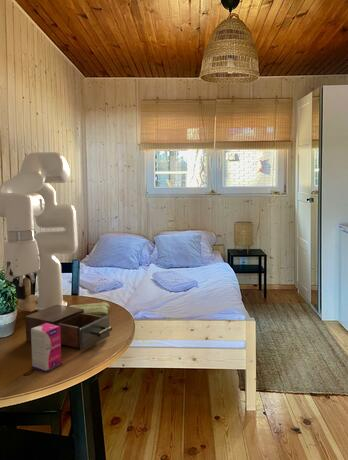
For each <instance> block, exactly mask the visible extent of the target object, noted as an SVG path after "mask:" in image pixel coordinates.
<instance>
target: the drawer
mask: <svg viewBox="0 0 348 460" xmlns="http://www.w3.org/2000/svg"><path fill="white" fill-rule="evenodd" d="M55 325H56V326H60V338H61V345H65V346H69V347H72V348H79V351H86V350H87V349H89V348H90V347H92V346H94V345H96V344H98V343H100V342H101V341H103V340H105V339H107V338H109V337H110V336H111V334H110V333H111V332H112V330H113V327H112V326H110V316H109V315H107V316H105V317H102V316H98V315H92V314H86V313H79V314H76V315H74V316H72V317H69V318H67V319H65V320H62V321H60V322H58V323H55Z"/></svg>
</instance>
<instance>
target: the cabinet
mask: <svg viewBox="0 0 348 460" xmlns="http://www.w3.org/2000/svg"><path fill="white" fill-rule="evenodd" d="M69 306H70V305H69ZM69 306H68V305H67V306H63V305H54V306H51V307H49V308H46V309H43V310H41V311H38V310H37V311H36V312H32V313H29V314H27V315H25V316H24V322H25V323H24V325H25V339H26V342H27V343H28V342H29V343H32V342H31V329H32V328H34V327H37V326H40V325H43V324H45V323H49V324H52V325H55V323H58V322H60V321H62V320H65V319H67V318H69V317H72V316H74V315H76V314H79V313H84V309H81V308H75V307H69Z"/></svg>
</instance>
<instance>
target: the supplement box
mask: <svg viewBox="0 0 348 460" xmlns="http://www.w3.org/2000/svg"><path fill="white" fill-rule="evenodd" d="M30 343H31V363H32V364H31V365H32V369H35V370H38V371H41V372H43V373H47V372H49V371H51V370H53V369H55V368H57V367H59V366H61V365H62V344H61V338H60V326H56V325H52V324H49V323H45V324H43V325H40V326H37V327H34V328H32V329H31V342H30Z"/></svg>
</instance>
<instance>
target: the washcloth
mask: <svg viewBox="0 0 348 460" xmlns="http://www.w3.org/2000/svg"><path fill="white" fill-rule="evenodd" d="M69 307H75V308H81V309H84V313H86V314H92V315H98V316H102V317H105V316H109V309H110V307H111V306H110V304H109V303H108V302H105V301H104V302H103V301H102V302H98V303H93V302H92V303H84V304H83V303H82V304H73V305H72V304H71V305H69Z"/></svg>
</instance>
